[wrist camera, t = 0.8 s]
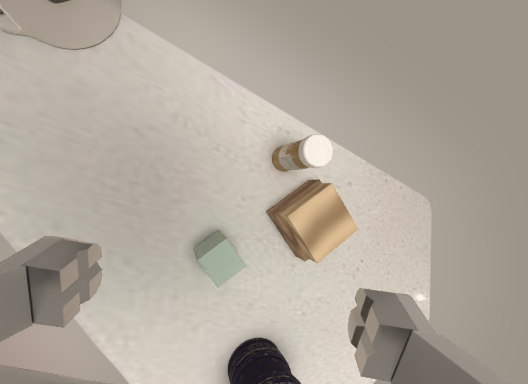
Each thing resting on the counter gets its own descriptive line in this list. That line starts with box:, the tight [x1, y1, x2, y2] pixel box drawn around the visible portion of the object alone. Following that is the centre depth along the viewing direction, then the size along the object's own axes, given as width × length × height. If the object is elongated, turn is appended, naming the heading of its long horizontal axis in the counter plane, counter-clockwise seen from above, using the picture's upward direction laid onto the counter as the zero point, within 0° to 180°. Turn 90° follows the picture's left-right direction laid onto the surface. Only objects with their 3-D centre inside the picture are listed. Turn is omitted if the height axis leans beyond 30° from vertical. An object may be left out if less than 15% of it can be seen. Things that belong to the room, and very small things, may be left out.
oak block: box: [279, 183, 358, 263], centre depth 47 cm, size 9×9×4 cm
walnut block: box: [266, 180, 322, 261], centre depth 51 cm, size 10×10×4 cm
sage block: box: [194, 230, 246, 287], centre depth 45 cm, size 5×5×8 cm
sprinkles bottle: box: [273, 134, 333, 171], centre depth 45 cm, size 5×5×14 cm
